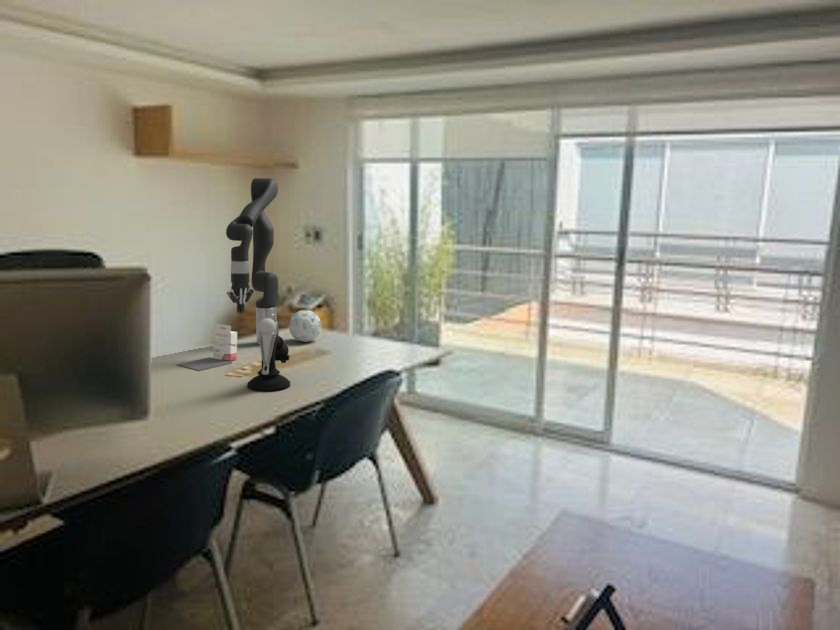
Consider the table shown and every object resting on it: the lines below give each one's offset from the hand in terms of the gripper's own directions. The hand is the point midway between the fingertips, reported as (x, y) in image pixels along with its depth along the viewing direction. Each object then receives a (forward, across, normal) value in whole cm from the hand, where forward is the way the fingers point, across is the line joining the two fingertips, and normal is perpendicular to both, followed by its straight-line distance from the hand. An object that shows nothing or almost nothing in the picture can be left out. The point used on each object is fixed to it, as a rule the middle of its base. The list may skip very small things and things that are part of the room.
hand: (240, 312), depth 278 cm
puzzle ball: (+19, -38, 0) cm, 42 cm away
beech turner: (+19, +15, +20) cm, 31 cm away
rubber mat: (+19, +19, 0) cm, 27 cm away
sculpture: (+19, +20, +41) cm, 49 cm away
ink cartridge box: (+19, +9, 0) cm, 21 cm away
